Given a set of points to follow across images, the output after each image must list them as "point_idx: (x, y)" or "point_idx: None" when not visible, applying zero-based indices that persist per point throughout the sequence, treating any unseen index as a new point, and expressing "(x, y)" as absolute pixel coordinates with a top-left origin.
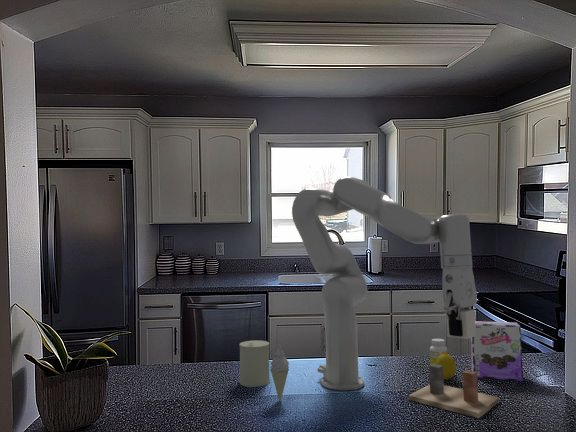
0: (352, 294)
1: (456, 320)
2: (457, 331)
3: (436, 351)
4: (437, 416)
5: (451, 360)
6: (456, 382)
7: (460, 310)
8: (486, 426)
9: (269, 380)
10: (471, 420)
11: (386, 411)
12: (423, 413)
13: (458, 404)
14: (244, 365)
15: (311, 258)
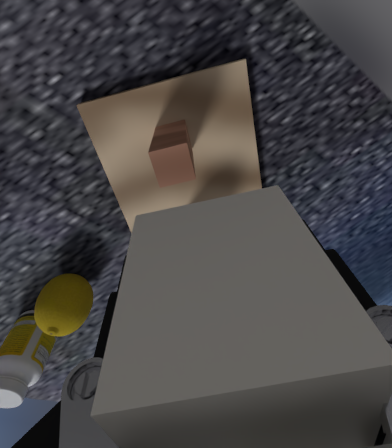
0: None
1: (386, 316)
2: (330, 251)
3: (35, 363)
4: (310, 135)
5: (55, 304)
6: (67, 257)
7: (390, 417)
8: (282, 2)
9: None
10: (272, 62)
11: (360, 216)
12: (315, 166)
13: (229, 138)
14: None
15: None
